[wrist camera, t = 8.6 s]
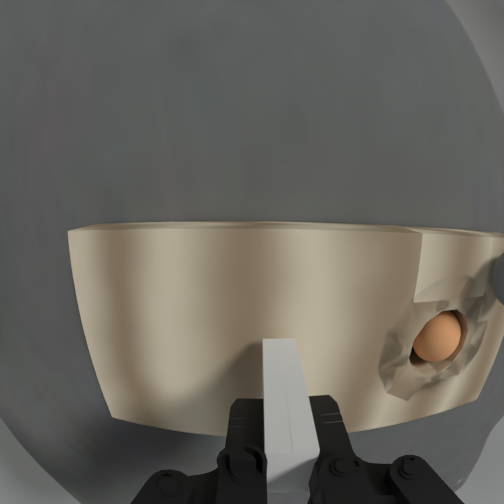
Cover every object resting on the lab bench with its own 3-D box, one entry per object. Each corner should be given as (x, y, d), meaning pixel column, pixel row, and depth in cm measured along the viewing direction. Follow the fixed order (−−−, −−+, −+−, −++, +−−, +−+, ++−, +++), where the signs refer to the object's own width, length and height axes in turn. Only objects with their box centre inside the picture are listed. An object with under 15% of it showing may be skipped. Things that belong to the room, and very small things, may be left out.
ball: (444, 377, 12) (459, 354, 14) (457, 323, 12) (470, 307, 13) (398, 362, 15) (419, 343, 17) (406, 311, 15) (427, 298, 16)
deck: (127, 393, 18) (112, 417, 15) (96, 224, 15) (67, 231, 12) (460, 380, 17) (476, 399, 14) (498, 232, 14) (524, 240, 11)
